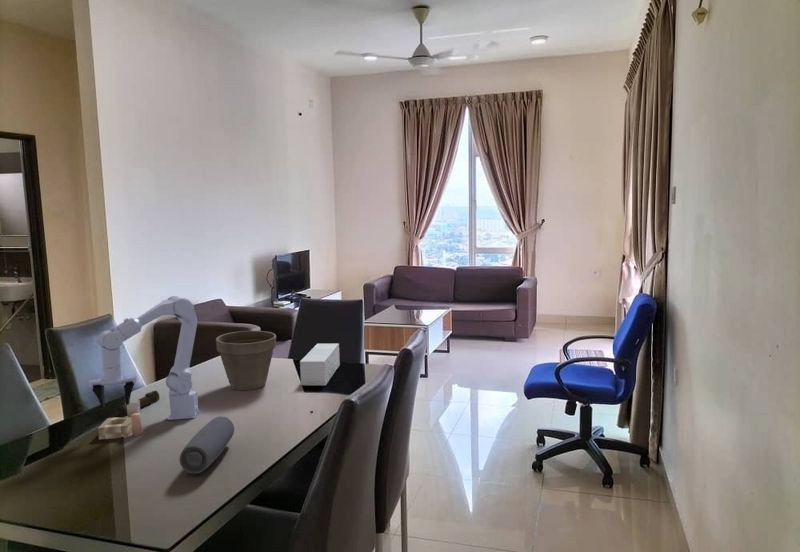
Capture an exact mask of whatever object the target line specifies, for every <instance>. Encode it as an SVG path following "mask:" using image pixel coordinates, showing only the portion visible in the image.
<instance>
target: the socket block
mask: <svg viewBox="0 0 800 552" xmlns="http://www.w3.org/2000/svg"><path fill="white" fill-rule="evenodd" d="M97 430H98V440H109V439H110V440H111V439H120V438H121V437H124V438H128V437H130V435H131V434H132V433H131V432H132V422H131V416H130V417H128V416H119V417H118V416H117V417H116V416H115V417H107V418H106V419H105V420H104V421H103V422H102V423H101V424H100V425H99V426H98V428H97ZM130 433H131V434H130Z"/></svg>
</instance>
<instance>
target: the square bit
mask: <svg viewBox="0 0 800 552" xmlns="http://www.w3.org/2000/svg"><path fill="white" fill-rule="evenodd" d="M134 413H141V414H142V412H141V408H140V400H138V399H130V403H129V405H127V414H126V415H127V417H130V416H131V414H134Z"/></svg>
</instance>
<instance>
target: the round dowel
mask: <svg viewBox="0 0 800 552" xmlns="http://www.w3.org/2000/svg"><path fill="white" fill-rule="evenodd" d="M131 422H132V433H131V434H132V436H133V435H139V436H141V435H143V425H142V424H143V423H142V412H141V413H134V414H131ZM140 434H141V435H140Z"/></svg>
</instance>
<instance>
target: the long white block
mask: <svg viewBox="0 0 800 552" xmlns="http://www.w3.org/2000/svg"><path fill="white" fill-rule="evenodd" d="M340 361H341V360H340V343H316V345H314V347H313V348H311V349H310V351H309V352H307V354H306V355H305V356H304V357H303V358H302V359H301V360H300V361H299V365H300V366H299V368H300V369H299V370H300V385H301V386H326V385H327V384H328V383H329V382H330V380H331V378H332V377H333V375H334V374H335V372H336V371H337V369H338V368H339V367H340V365H341V363H340Z"/></svg>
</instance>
